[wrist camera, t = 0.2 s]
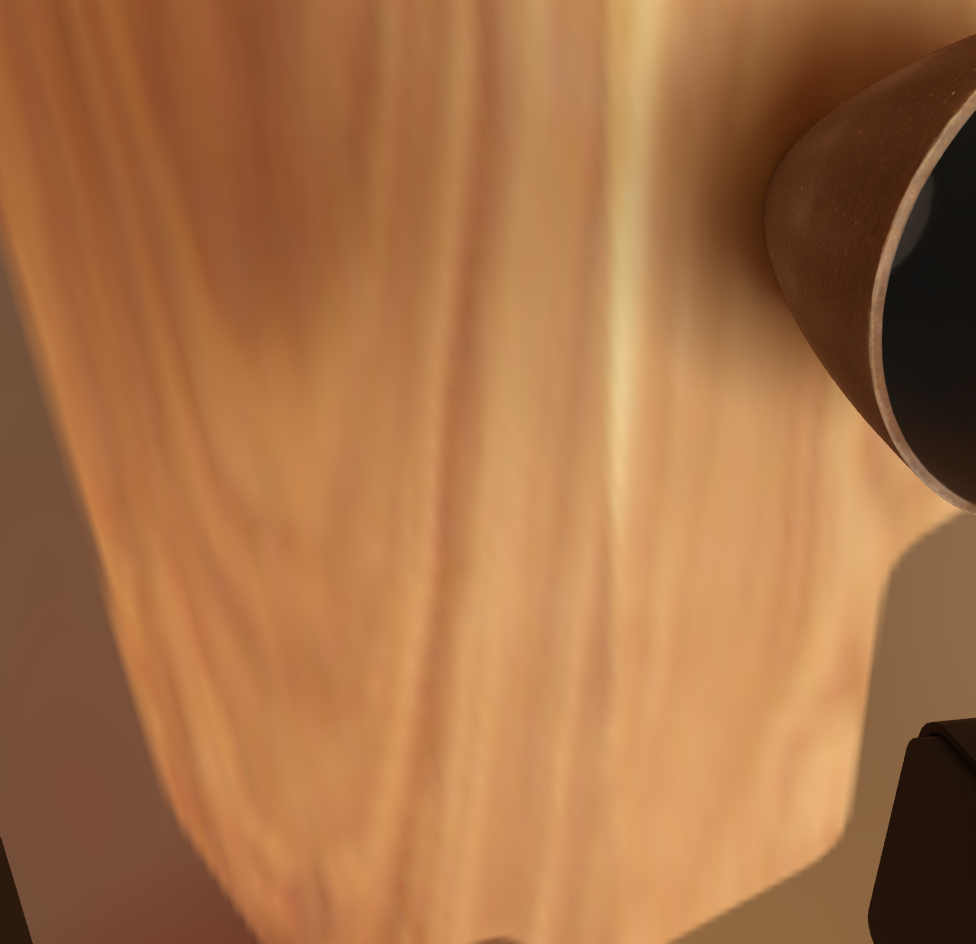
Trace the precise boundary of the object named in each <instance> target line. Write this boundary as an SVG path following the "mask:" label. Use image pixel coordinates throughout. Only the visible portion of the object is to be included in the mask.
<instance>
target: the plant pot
mask: <svg viewBox="0 0 976 944" xmlns="http://www.w3.org/2000/svg"><path fill="white" fill-rule="evenodd" d="M764 231H765V237H766V243H767V248H768V252H769V256H770V259H771V263H772V266H773V269H774V272H775V275H776V278H777V280H778V283H779V286H780V288H781V290H782V293H783V295H784V298H785V300H786V302H787V304H788V306H789V308H790V310H791V312H792V314H793V316H794V318H795V320H796V322H797V324H798V326H799V327H800V329H801V331H802V333H803V334H804V336H805V338H806V339H807V341H808V343H809V344H810V346H811V347H812V349H813V351H814V352H815V354H816V355H817V357H818V358H819V360H820V361H821V363H822V364H823V366H824V367H825V369H826V370H827V371H828V373H829V374H830V376H831V377H832V378H833V380H834V381H835V382H836V384H837V385H838V386H839V388H840V389H841V390H842V392H843V393H844V394H845V396H846V397H847V398H848V399H849V401H850V402H851V403H852V405H853V406H854V407H855V408H856V410H857V411H858V412H859V413H860V414H861V416H862V417H863V418H864V419H865V420H866V421H867V422H868V424H869V425H870V426H871V427H872V428H873V429H874V430H875V431H876V433H877V434H878V435H879V436H880V437H881V438H882V439H883V440H884V441H885V442H886V443H887V445H888V446H889V447H890V448H891V449H892V450H893V451H894V452H895V453H896V454H897V455H898V457H899V458H900V459H901V460H902V461H903V462H904V463H905V464H906V465H907V466H908V467H909V468H910V469H911V470H912V471H913V472H914V473H915V474H916V475H917V476H918V477H919V478H920V479H921V480H922V481H923V482H924V483H925V484H926V485H927V486H928V487H929V488H930V489H931V490H933V491H934V492H935V493H936V494H938V495H939V496H940V497H942V498H943V499H945V500H946V501H947V502H949V503H951V504H953V505H954V506H956V507H958V508H960V509H962V510H964V511H966V512H968V513H970V514H973V515H975V516H976V34H975V35H972V36H970V37H967V38H965V39H962V40H960V41H958V42H956V43H953V44H951V45H949V46H947V47H944V48H942V49H940V50H937V51H935V52H933V53H931V54H929V55H927V56H925V57H923V58H921V59H919V60H916V61H914V62H912V63H910V64H908V65H906V66H904V67H902V68H901V69H899V70H897V71H895V72H893V73H891V74H890V75H888V76H886V77H884V78H882V79H881V80H879V81H877V82H875V83H874V84H872V85H871V86H869V87H867V88H866V89H864V90H862V91H861V92H859V93H858V94H856V95H854V96H853V97H851V98H850V99H848V100H847V101H845V102H844V103H842V104H841V105H839V106H838V107H837V108H835V109H834V110H833V111H831V112H830V113H829V114H827V115H826V116H825V117H823V118H822V119H821V120H820V121H819V122H817V123H816V124H815V125H814V126H813V127H812V128H811V129H809V130H808V131H807V132H806V133H805V134H804V135H803V136H802V137H801V138H800V139H799V140H798V141H797V142H796V143H795V144H794V145H793V146H792V147H791V148H790V150H789V151H788V152H787V153H786V155H785V156H784V158H783V159H782V160H781V162H780V163H779V165H778V167H777V169H776V171H775V173H774V175H773V177H772V180H771V182H770V185H769V188H768V191H767V195H766V199H765V204H764Z"/></svg>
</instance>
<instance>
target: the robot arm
mask: <svg viewBox="0 0 976 944" xmlns="http://www.w3.org/2000/svg"><path fill="white" fill-rule="evenodd" d="M868 924H869V929H870V934H871V937H872V940H873V943H874V944H976V718H971V719H970V718H969V719H959V720H949V721H939V722H931V723H927V724H926V725H925V726H924V727H922V729H921V731H920V734H919V736H918V738H913V739H912V740H911V741H910V742H909V744H908V746H907V749H906V753H905V758H904V762H903V766H902V770H901V774H900V779H899V783H898V788H897V791H896V796H895V800H894V805H893V808H892V813H891V817H890V821H889V825H888V830H887V834H886V839H885V842H884V847H883V851H882V856H881V860H880V864H879V868H878V872H877V876H876V881H875V885H874V889H873V893H872V898H871V902H870V907H869V912H868ZM0 944H33V943H32V940H31V936H30V933H29V930H28V926H27V923H26V920H25V916H24V913H23V910H22V906H21V903H20V900H19V896H18V893H17V889H16V886H15V883H14V879H13V876H12V873H11V869H10V867H9V863H8V859H7V856H6V853H5V849H4V846H3V843H2V839H1V837H0Z"/></svg>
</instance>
